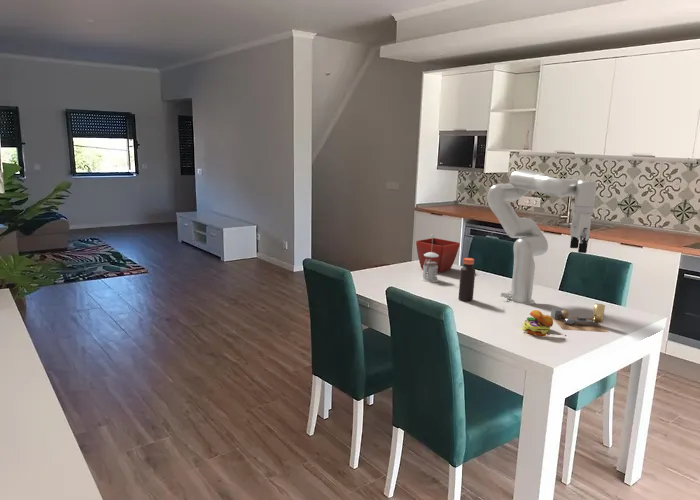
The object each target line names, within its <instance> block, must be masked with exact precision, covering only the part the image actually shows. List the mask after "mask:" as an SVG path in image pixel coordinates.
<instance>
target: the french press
mask: <svg viewBox="0 0 700 500" xmlns="http://www.w3.org/2000/svg"><path fill="white" fill-rule="evenodd" d="M430 237H431V238H432V242H433V238H435V235H434V234H431V235H430ZM424 256H425V257H431V258H434V257H438V256H439V255H438V254H436V253H433V252H432V250H431V252H429V253H426V254H424ZM436 264H437V262H435V261H430V259H429V260H428V261H426V260H425V262H424V265H423V269H422V277H421V278H420V281H423V282H426V283H436V282H439V279H438V273H437V272H436V271H437V270H436V269H438V265H436ZM427 268H428V269H427Z"/></svg>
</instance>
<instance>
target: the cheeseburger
mask: <svg viewBox="0 0 700 500" xmlns="http://www.w3.org/2000/svg"><path fill="white" fill-rule="evenodd" d="M529 315H530V316H528V317H526V319H525V320H524V322H523V323H522V328H521V330H522V331H523V333H524V334H529V335H534V336H537V337H544V336H546V335H547V334H548V332H549V331H550V330H551V329H550V328H552V327H553V325H554V320H553V319H552V317H550V316H551V315H549V314H547V315H545V314H543V313H542V312H541V311H540V310H537V309H534V310H532V311H531V312H530V313H529Z"/></svg>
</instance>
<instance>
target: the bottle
mask: <svg viewBox="0 0 700 500" xmlns="http://www.w3.org/2000/svg"><path fill="white" fill-rule="evenodd" d="M462 261H463V262H462V263H463V264H462V265H463V266H462V267H461V268H460V273H459V275H460V276H459V285H458V286H459V287H458V301H462V302H465V303H466V302H467V303H469V302H472V301H474V292H475V291H474V289H475V278H476V269H475V267H474V264H475V259H474V258H472V257H464V258H463V260H462Z"/></svg>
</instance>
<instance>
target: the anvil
mask: <svg viewBox="0 0 700 500" xmlns="http://www.w3.org/2000/svg"><path fill="white" fill-rule="evenodd" d="M550 311H551V313H550V316H551V317H552V318H553V319H554V320H560V318H561V311H562V310H561V309H560V308H559V307H558V306H551V310H550ZM554 320H553V321H554Z"/></svg>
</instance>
